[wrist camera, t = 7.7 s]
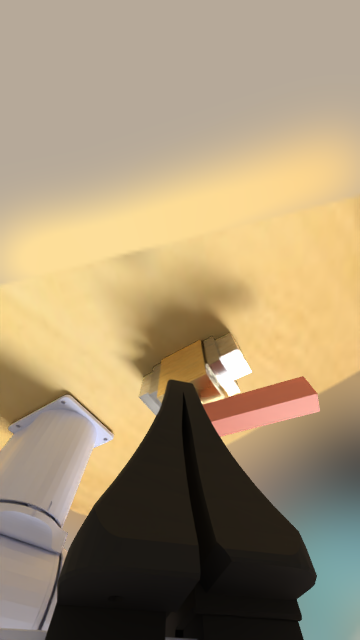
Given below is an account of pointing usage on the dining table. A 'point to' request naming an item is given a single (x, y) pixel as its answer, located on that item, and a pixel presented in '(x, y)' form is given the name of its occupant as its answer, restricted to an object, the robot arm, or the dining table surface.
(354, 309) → the dining table surface
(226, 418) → the lever
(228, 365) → the valve base
